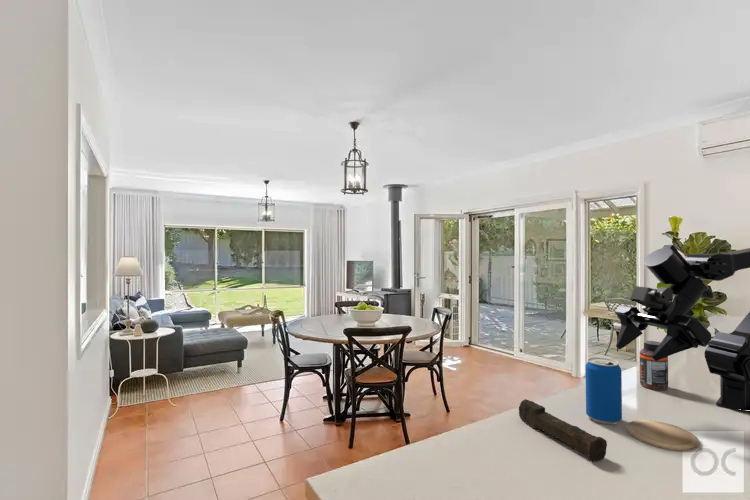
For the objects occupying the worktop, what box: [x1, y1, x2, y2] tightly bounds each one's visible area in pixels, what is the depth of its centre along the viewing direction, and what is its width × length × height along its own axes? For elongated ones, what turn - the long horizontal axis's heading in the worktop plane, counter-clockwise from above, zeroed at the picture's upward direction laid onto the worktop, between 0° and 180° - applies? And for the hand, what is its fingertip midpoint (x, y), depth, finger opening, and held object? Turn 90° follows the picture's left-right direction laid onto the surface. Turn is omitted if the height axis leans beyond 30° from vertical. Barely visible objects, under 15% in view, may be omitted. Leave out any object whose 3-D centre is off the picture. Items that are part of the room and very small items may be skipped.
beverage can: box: [585, 357, 623, 425], centre depth 83 cm, size 6×6×12 cm
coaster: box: [626, 419, 700, 452], centre depth 75 cm, size 11×11×1 cm
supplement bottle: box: [639, 340, 669, 391], centre depth 102 cm, size 6×6×11 cm
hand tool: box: [518, 399, 608, 463], centre depth 75 cm, size 19×4×5 cm, turn 20°
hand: (634, 353), depth 84 cm, fingers open, 9 cm apart
